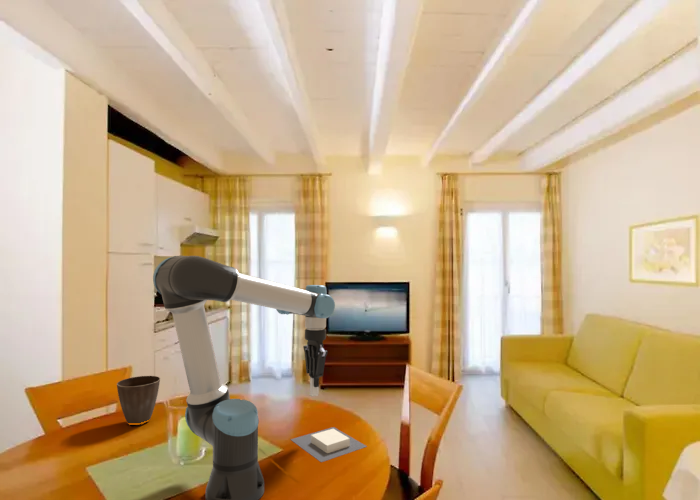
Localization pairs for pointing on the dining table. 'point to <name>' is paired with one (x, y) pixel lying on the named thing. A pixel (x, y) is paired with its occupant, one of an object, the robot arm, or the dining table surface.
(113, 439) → the dining table surface
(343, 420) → the dining table surface
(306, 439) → the mat
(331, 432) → the tile
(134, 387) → the plant pot
